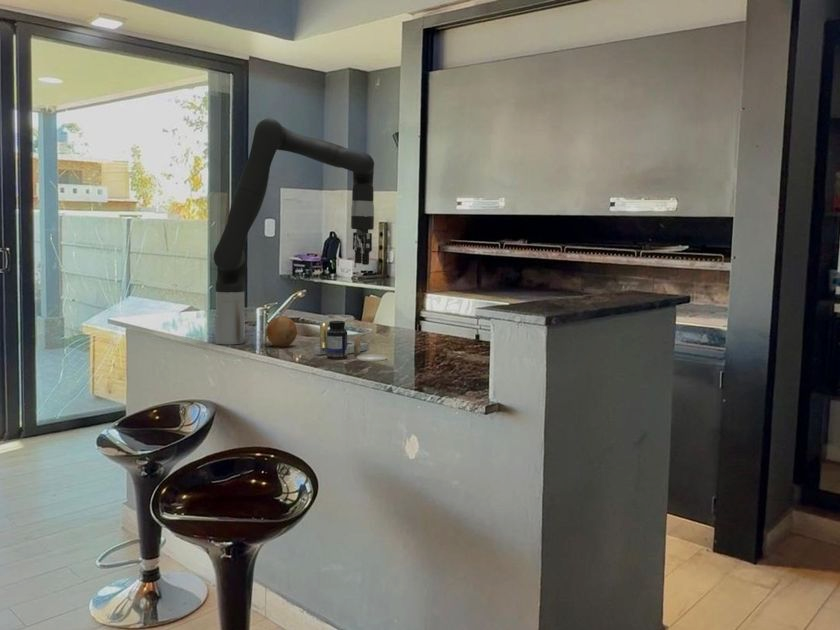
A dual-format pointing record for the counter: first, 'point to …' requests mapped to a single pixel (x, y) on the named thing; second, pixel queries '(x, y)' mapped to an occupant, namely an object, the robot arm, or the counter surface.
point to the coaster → (371, 357)
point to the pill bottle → (337, 340)
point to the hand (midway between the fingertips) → (361, 264)
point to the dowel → (356, 345)
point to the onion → (281, 331)
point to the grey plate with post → (322, 346)
